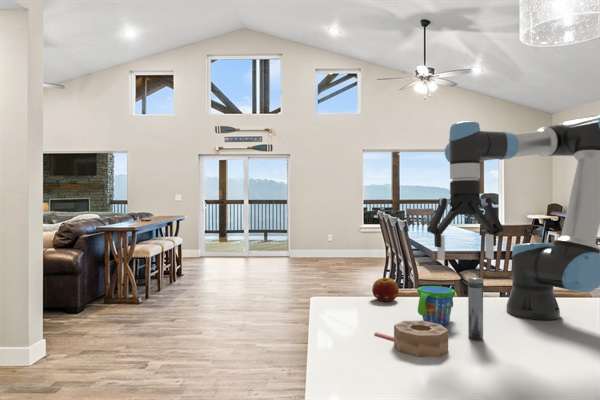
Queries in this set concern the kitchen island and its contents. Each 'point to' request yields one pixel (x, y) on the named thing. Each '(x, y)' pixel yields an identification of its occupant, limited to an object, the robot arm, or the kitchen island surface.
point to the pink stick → (384, 336)
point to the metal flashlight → (475, 308)
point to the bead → (421, 338)
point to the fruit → (385, 289)
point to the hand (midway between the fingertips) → (465, 259)
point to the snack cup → (435, 304)
